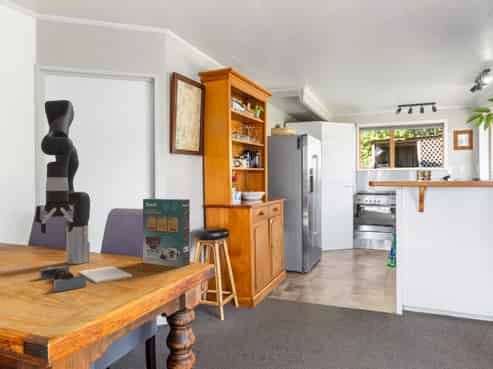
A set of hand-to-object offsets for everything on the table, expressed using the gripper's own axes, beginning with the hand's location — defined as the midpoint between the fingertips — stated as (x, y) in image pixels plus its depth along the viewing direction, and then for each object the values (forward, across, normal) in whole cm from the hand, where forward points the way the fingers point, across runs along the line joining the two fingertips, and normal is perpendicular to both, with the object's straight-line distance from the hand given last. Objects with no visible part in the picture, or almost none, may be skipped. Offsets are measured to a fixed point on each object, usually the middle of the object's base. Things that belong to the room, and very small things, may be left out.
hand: (57, 232), depth 134 cm
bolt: (+19, -2, +1) cm, 19 cm away
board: (+19, -18, 0) cm, 26 cm away
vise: (+19, -1, -2) cm, 19 cm away
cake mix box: (+19, -46, -3) cm, 50 cm away
